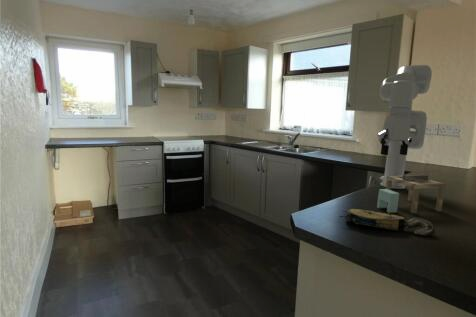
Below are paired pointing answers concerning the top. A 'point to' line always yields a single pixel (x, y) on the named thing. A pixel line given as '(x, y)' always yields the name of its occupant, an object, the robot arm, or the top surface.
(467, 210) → the top surface
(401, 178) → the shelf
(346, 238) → the top surface
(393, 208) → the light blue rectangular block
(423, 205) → the top surface
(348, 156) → the top surface
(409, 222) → the pulley block
